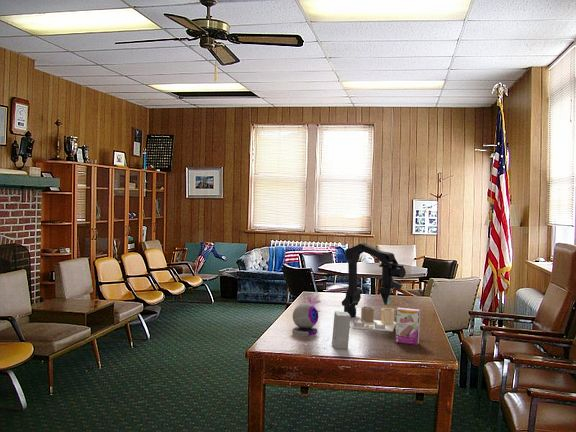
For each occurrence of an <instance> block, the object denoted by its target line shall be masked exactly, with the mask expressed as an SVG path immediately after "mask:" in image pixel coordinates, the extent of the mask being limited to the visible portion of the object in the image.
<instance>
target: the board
mask: <svg viewBox="0 0 576 432" xmlns="http://www.w3.org/2000/svg"><path fill="white" fill-rule="evenodd" d="M366 307H367V306H362V307H360V308H361V309H360V310H361V313H360V315H361V316H360V318H358V319H357V320H356V319H354V320H353V326H352V329H360V330H361V329H362V330H369V331H370V330H371V331H380V332H381V331H382V332H384V331H385V332H394V329H395V325H396V321H395V309H394V308H392V307H391V308H387V307H383V308H381V309H380V310H381V311H380V312H381V313H380V314H381V316H380V320H377V319H375V307H372V306H368V307H369V308H370V309H365V308H366Z"/></svg>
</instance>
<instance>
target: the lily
mask: <svg viewBox="0 0 576 432" xmlns="http://www.w3.org/2000/svg"><path fill="white" fill-rule="evenodd" d="M318 297H319V296H314V297H312V296H311V295H309V294H307V295H306V297H305V301H302V302H301V303H300V304H303V303H308V304H311V305H313V306H314V307H315V305H317V304H321V303H322V301H321V300H319V299H318Z"/></svg>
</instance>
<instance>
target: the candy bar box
mask: <svg viewBox="0 0 576 432" xmlns="http://www.w3.org/2000/svg"><path fill="white" fill-rule="evenodd" d="M395 322H396V325H395V327H394V329H395V331H394V343H396V344H397V343H398V344H406V345H414V346H417V345H419V342H420V325H421V324H420V323H421V309H415V308H408V307H407V308H406V307H397V308H396V309H395Z"/></svg>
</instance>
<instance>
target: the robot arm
mask: <svg viewBox="0 0 576 432" xmlns="http://www.w3.org/2000/svg"><path fill="white" fill-rule="evenodd" d="M344 252H345V253H344V255H345V259H346V260H345V261H346V262H347V264H348V266H347V267H348V268H347V269H348V271H347V272H348V274H347V275H348V276H347V277H348V281H347V283H348V288H347V290H346V292H345V297H344V299H343V300H342V301H341V306H343V312H348V314H349V315H350V316H351V318H355V317H356V315H357V307H356V306H358V304H359V302H360V300H361V299H362V296H361V293H362V292H361V291H360V290H358V262H359V260H360V255H362V254H363V253H366V254H368V255H370V256H373V257H374V258H376V259H377V260H378V261H379V262H381V263H380V264H379V265H378V267H380V268H381V278H380V279H381V285H380V287H379V289H378V293H379V294H380V295H381V299H382V303H383V302H384V303H383V304H384V305H385V306H386V305H388V304H387V301H388V298H389V299H390V296H391V295H392V293H393V291H394V290H395V289H396V290H397V291H401V290H402V287H403V286H404V285H403V283H402V281H401V280H399V279H403V278H405V276H406V273H407V271H406V268H405V267H404V265H403V264H399V263H398V261H397V259H396V257H395V254H394V253H393V252H389V251H382V250H381V249H378V248H375V247H374V246H372V245H369V244H368V243H365V242H362V243H358V244H357V245H354V246H352V247H348V248H347V249H346V250H345V251H344ZM393 277H394V278H399V279H398V280H397V281H396V280H394V278H393Z"/></svg>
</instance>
